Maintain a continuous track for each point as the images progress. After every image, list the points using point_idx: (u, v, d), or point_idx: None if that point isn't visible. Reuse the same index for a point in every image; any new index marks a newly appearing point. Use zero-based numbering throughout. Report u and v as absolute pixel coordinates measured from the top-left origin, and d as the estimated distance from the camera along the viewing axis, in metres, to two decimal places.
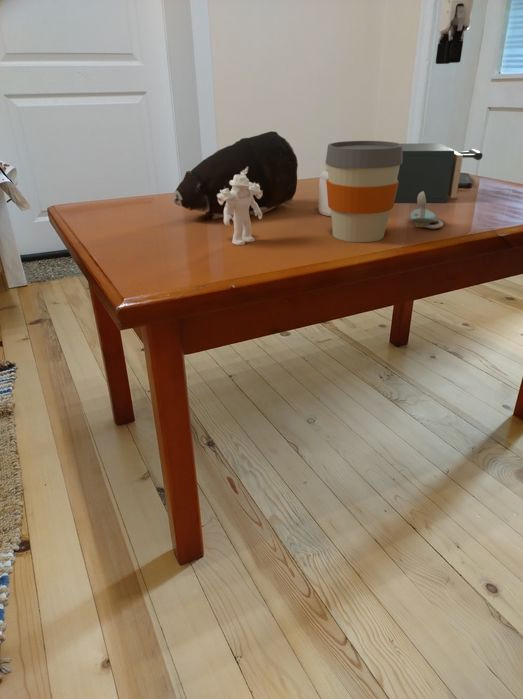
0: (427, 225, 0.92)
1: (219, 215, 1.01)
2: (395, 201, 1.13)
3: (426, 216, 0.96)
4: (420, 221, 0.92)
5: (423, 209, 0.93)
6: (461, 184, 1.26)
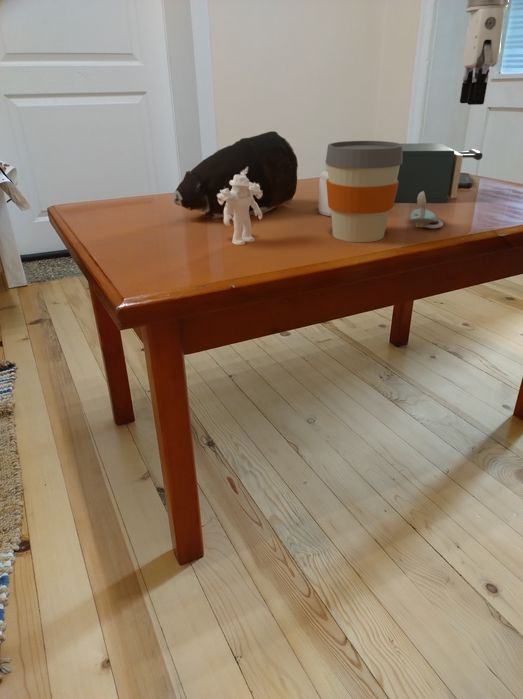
0: (427, 225, 0.92)
1: (219, 215, 1.01)
2: (395, 201, 1.13)
3: (426, 216, 0.96)
4: (420, 221, 0.92)
5: (423, 209, 0.93)
6: (461, 184, 1.26)
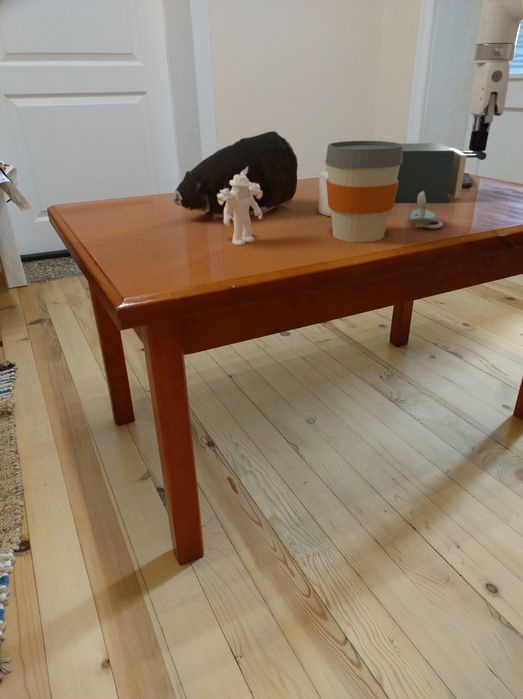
0: (427, 225, 0.92)
1: (219, 215, 1.01)
2: (395, 201, 1.13)
3: (426, 216, 0.96)
4: (420, 221, 0.92)
5: (423, 209, 0.93)
6: None
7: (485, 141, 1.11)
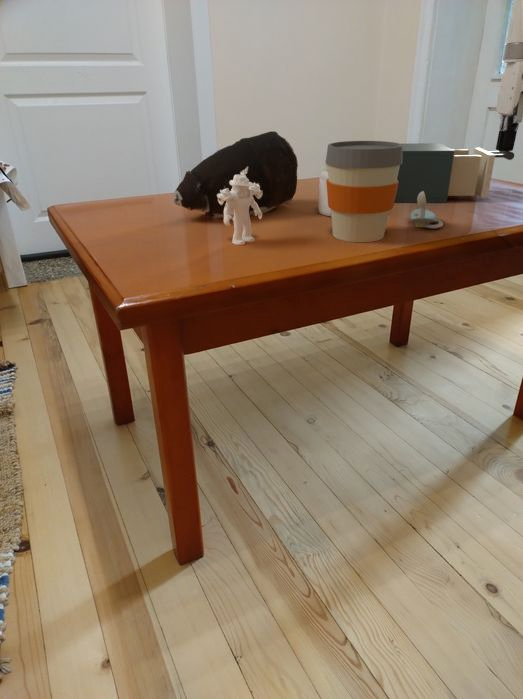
0: (427, 225, 0.92)
1: (219, 215, 1.01)
2: (395, 201, 1.13)
3: (426, 216, 0.96)
4: (420, 221, 0.92)
5: (423, 209, 0.93)
6: None
7: (513, 141, 1.10)
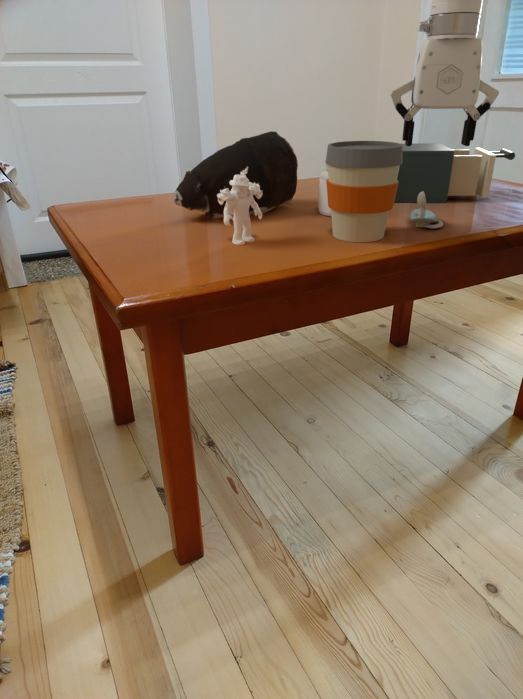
0: (427, 225, 0.92)
1: (219, 215, 1.01)
2: (395, 201, 1.13)
3: (426, 216, 0.96)
4: (420, 221, 0.92)
5: (423, 209, 0.93)
6: None
7: (408, 133, 0.87)
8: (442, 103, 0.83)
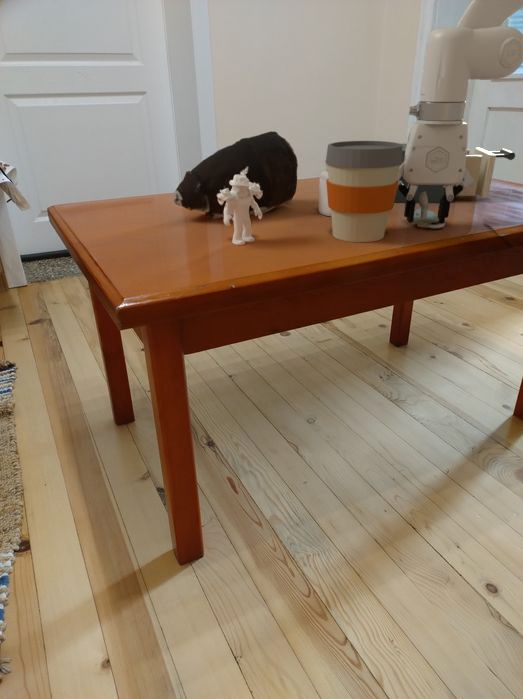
0: (429, 225, 0.92)
1: (219, 215, 1.01)
2: (395, 201, 1.13)
3: (427, 216, 0.96)
4: (423, 221, 0.92)
5: (425, 209, 0.93)
6: None
7: (410, 211, 0.93)
8: (430, 180, 0.88)
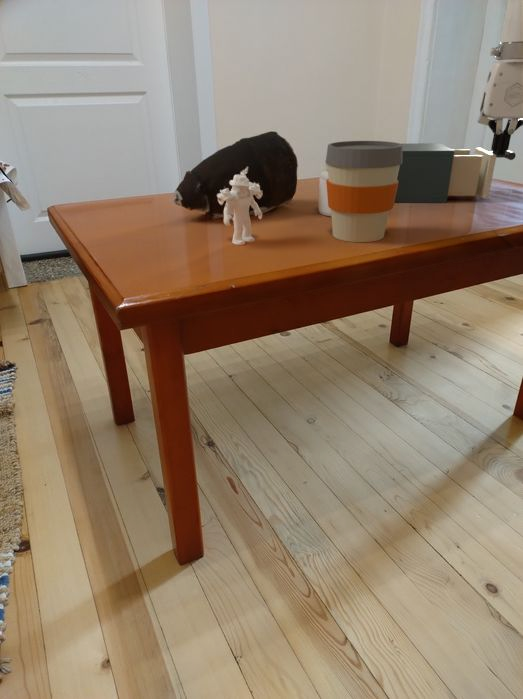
0: None
1: (219, 215, 1.01)
2: (395, 201, 1.13)
3: None
4: None
5: None
6: None
7: (498, 145, 1.05)
8: (508, 114, 1.01)
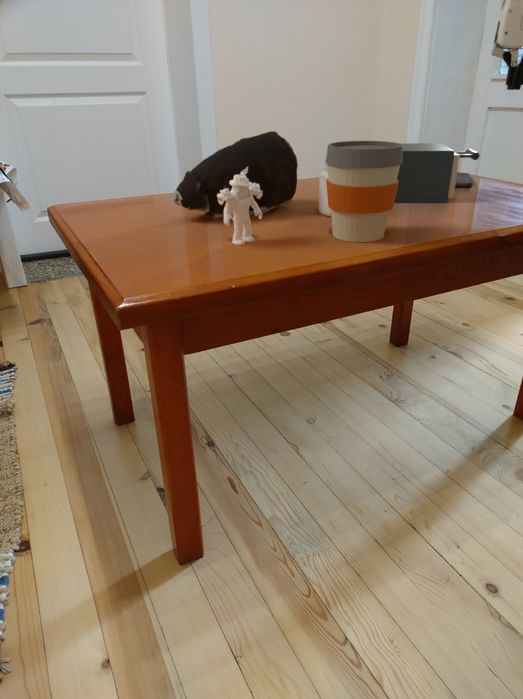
0: None
1: (219, 215, 1.01)
2: (395, 201, 1.13)
3: None
4: None
5: None
6: (461, 184, 1.26)
7: (513, 78, 1.00)
8: None
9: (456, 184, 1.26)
